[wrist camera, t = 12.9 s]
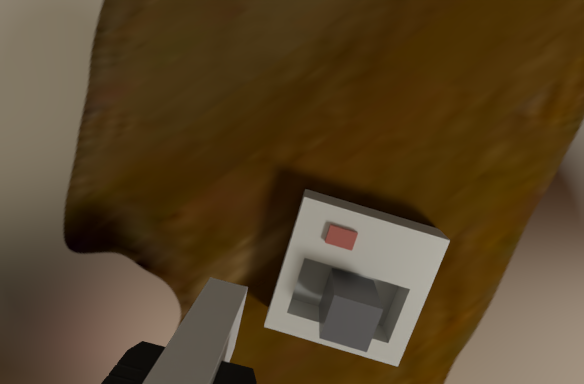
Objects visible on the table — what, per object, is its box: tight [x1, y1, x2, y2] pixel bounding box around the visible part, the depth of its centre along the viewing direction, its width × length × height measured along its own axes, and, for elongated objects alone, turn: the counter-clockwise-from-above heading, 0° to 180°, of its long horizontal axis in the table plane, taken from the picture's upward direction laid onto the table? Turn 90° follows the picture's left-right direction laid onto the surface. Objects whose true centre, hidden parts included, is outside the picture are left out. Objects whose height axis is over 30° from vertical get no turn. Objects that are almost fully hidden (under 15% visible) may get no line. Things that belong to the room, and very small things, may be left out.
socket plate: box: [264, 189, 450, 367], centre depth 43 cm, size 16×16×5 cm
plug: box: [319, 268, 383, 352], centre depth 41 cm, size 5×5×8 cm
